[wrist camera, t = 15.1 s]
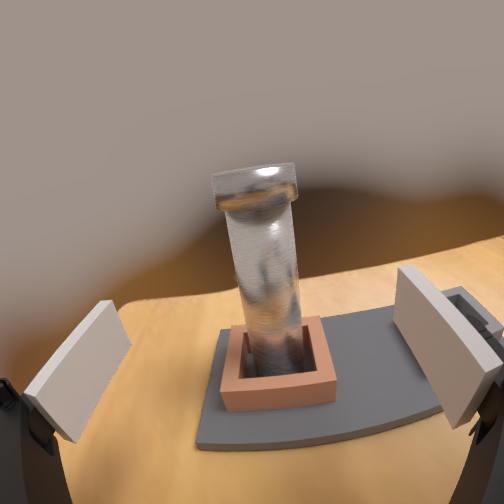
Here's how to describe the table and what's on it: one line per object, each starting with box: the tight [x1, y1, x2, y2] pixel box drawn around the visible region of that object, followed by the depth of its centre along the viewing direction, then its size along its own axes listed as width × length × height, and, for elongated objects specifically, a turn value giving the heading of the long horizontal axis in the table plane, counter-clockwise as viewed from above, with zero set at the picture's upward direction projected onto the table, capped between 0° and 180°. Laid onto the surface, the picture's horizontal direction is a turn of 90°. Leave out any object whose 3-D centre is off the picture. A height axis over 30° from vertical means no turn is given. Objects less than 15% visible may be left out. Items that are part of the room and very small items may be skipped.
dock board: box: [196, 286, 504, 451], centre depth 20 cm, size 28×14×4 cm, turn 88°
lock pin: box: [210, 163, 305, 378], centre depth 19 cm, size 5×5×16 cm
